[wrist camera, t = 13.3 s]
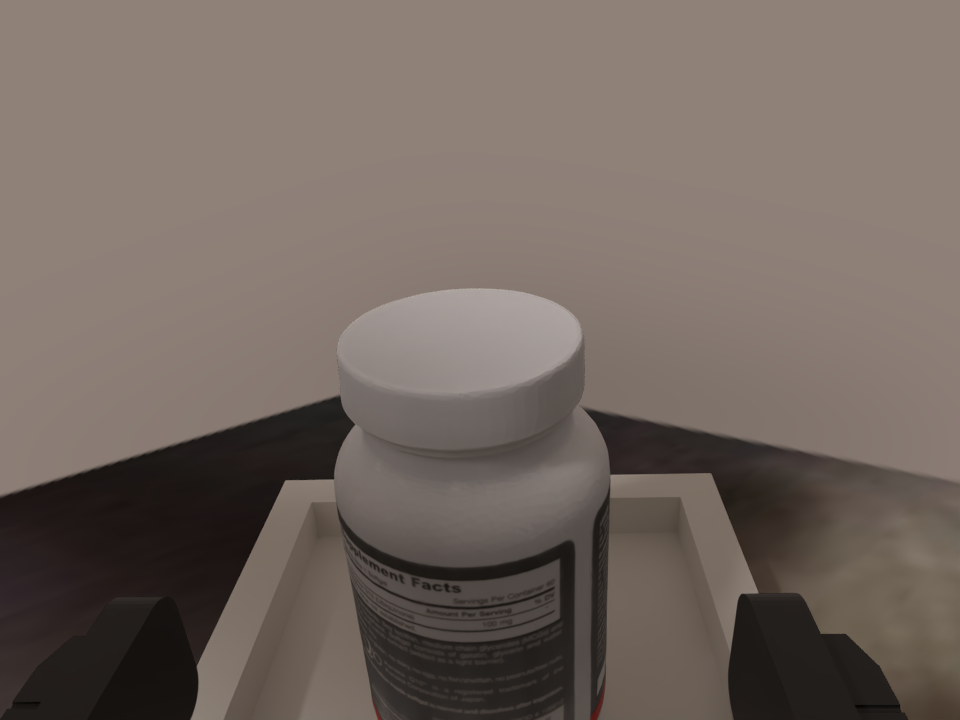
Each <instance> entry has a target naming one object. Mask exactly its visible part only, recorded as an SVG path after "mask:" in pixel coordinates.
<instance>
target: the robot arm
mask: <svg viewBox="0 0 960 720" xmlns="http://www.w3.org/2000/svg"><path fill="white" fill-rule="evenodd" d="M198 685H199V680H198V671H197V667H196V664H195V660H194V657H193V654H192V651H191V648H190V645H189V642H188V639H187V636H186V633H185V630H184V627H183V624H182V621H181V618H180V615H179V612H178V609H177V606H176V604H175V602H174V600H172V599H171V598H169V597H118V598H114V599H113V600H111V601H110V602H109V603H108V604H107V605H106V606H105V608H104V609H103V611H102V612H101V614H100V615H99V616H98V618H97V619H96V621H95V622H94V624H93V625H92V627H91V628H90V630H89V631H88V633H87V634H86V636H73V637H72V638H70V639H69V640H68V641H67V642H66V643H65V644H63V645H62V646H61V647H60V648H59V649H57V650H56V651H55V652H54V653H53V654H52V655H50V656H49V657H48V658H47V659H46V660H45V661H43V662H42V663H41V664H40V665H39V666H38V667H37V668H36V669H35V671H34V672H33V674H32V675H31V676H30V678H29V679H28V681H27V682H26V683H25V685H24V686H23V688H22V689H21V691H20V692H19V693H18V695H17V696H16V698H15V699H14V700H13V706H12V708H11V709H7V710H6V712H5V713H4V714H3V716H2V717H1V719H0V720H191V717H192V715H193V712H194V709H195V706H196V701H197V696H198ZM728 690H729V698H730V705H731V710H732V715H733V719H734V720H908V718H907V716H906V715H905V713H902V712H901V709H900V704H899V702H898V700H897V698H896V696H895V694H894V692H893V691H892V689H891V687H890V685H889V683H888V681H887V679H886V678H885V676H884V674H883V672H882V670H881V668H880V666H879V665H878V664H876V663H875V662H874V661H873V660H872V659H871V658H870V657H869V656H868V655H867V654H866V653H865V652H864V651H863V650H862V649H861V648H860V647H859V646H858V645H857V644H856V643H855V642H854V641H853V640H851V639H850V638H849V637H848V636H847V635H846V634H820V631H819V629H818V627H817V625H816V623H815V621H814V619H813V617H812V615H811V612H810V610H809V608H808V606H807V604H806V602H805V600H804V599H803V598H802V596H801V595H800V594H798V593H752V594H741V595H740V596H739V599H738V603H737V609H736V616H735V624H734V631H733V638H732V646H731V653H730V660H729V668H728Z"/></svg>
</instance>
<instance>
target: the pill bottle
mask: <svg viewBox="0 0 960 720" xmlns="http://www.w3.org/2000/svg"><path fill="white" fill-rule="evenodd" d="M337 362H338V371H339V381H340V393H341V401H342V406H343V408H344V411H345V412H346V414H347V415H348V417H349V418H350V419H351V420H352V421H353V422H354V423H355V424H356V425H355V426H354V427H353V429H352V430H351V431H350V433H349V434H348V435H347V437H346V439H345V441H344V442H343V444H342V447H341V449H340V451H339V454H338V457H337V461H336V466H335V471H334V487H335V497H336V504H337V511H338V517H339V522H340V527H341V532H342V538H343V543H344V550H345V554H346V559H347V565H348V570H349V575H350V580H351V585H352V591H353V596H354V601H355V607H356V612H357V618H358V624H359V629H360V634H361V639H362V644H363V651H364V656H365V662H366V667H367V672H368V678H369V683H370V689H371V696H372V702H373V706H374V709H375V712H376V716H377V719H378V720H598V719H599V716H600V713H601V710H602V706H603V700H604V693H605V683H606V645H607V590H608V549H609V515H610V468H609V457H608V451H607V447H606V444H605V441H604V439H603V437H602V435H601V433H600V431H599V429H598V427H597V425H596V424H595V422H594V421H593V420H592V419H591V417H590V416H589V415H588V414H587V413H586V412H585V411H584V410H583V409H582V408H581V407H580V406H578V405H577V404H578V403H579V401H580V399H581V397H582V394H583V391H584V372H585V371H584V369H585V368H584V335H583V330H582V327H581V325H580V323H579V321H578V320H577V318H576V317H575V316H574V315H573V314H572V313H571V312H569V311H568V310H567V309H566V308H564V307H562V306H561V305H559V304H557V303H555V302H553V301H550V300H548V299H545V298H542V297H539V296H536V295H532V294H528V293H523V292H518V291H511V290H500V289H479V288H474V289H454V290H443V291H436V292H429V293H423V294H419V295H415V296H411V297H407V298H403V299H399V300H396V301H393V302H390V303H387V304H384V305H382V306H380V307H377V308H375V309H373V310H371V311H369V312H367V313H365V314H363V315H362V316H360V317H359V318H357V319H356V320H355V321H354V322H353V323H351V324H350V325H349V326H348V327H347V328H346V330H345V331H344V332H343V333H342V335H341V336H340V339H339V341H338V345H337Z"/></svg>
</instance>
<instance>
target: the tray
mask: <svg viewBox="0 0 960 720" xmlns="http://www.w3.org/2000/svg"><path fill="white" fill-rule="evenodd" d="M752 593H758V590H757V588H756V585H755V583H754V580H753V578H752V575H751V573H750V570H749V568H748V565H747V563H746V560H745V558H744V555H743V553H742V550H741V547H740V545H739V542H738V540H737V537H736V535H735V532H734V530H733V527H732V525H731V522H730V520H729V517H728V515H727V512H726V510H725V507H724V505H723V502H722V500H721V497H720V495H719V492H718V490H717V487H716V485H715V482H714V480H713V477H712V474H711V473H698V474H638V475H610V515H609V549H608V590H607V645H606V683H605V693H604V700H603V706H602V710H601V713H600V716H599V719H598V720H734V719H733V715H732V710H731V705H730V698H729V690H728V668H729V660H730V653H731V646H732V638H733V631H734V624H735V616H736V609H737V603H738V599H739V596H740V595H741V594H752ZM197 671H198V680H199V685H198V696H197V701H196V706H195V709H194V712H193V715H192V717H191V720H378V719H377V716H376V712H375V709H374V706H373V702H372V696H371V689H370V683H369V678H368V672H367V667H366V662H365V656H364V651H363V644H362V639H361V634H360V629H359V624H358V618H357V612H356V607H355V601H354V596H353V591H352V585H351V580H350V575H349V570H348V565H347V559H346V554H345V550H344V543H343V538H342V532H341V527H340V522H339V517H338V511H337V504H336V497H335V487H334V480H286V481H285V483H284V485H283V487H282V489H281V491H280V493H279V495H278V497H277V499H276V501H275V504H274V506H273V508H272V510H271V512H270V514H269V516H268V518H267V520H266V522H265V525H264V527H263V529H262V531H261V533H260V535H259V537H258V539H257V541H256V543H255V545H254V548H253V550H252V552H251V554H250V556H249V558H248V560H247V562H246V564H245V566H244V569H243V571H242V573H241V575H240V577H239V579H238V581H237V583H236V585H235V587H234V589H233V592H232V594H231V596H230V598H229V600H228V602H227V604H226V606H225V608H224V610H223V613H222V615H221V617H220V619H219V621H218V623H217V625H216V627H215V629H214V631H213V633H212V636H211V638H210V640H209V642H208V644H207V646H206V648H205V650H204V652H203V654H202V657H201V659H200V661H199V663H198V665H197Z"/></svg>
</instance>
